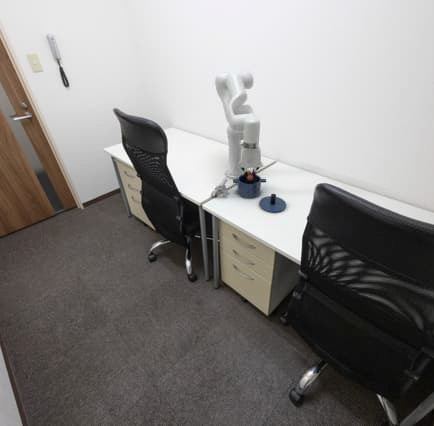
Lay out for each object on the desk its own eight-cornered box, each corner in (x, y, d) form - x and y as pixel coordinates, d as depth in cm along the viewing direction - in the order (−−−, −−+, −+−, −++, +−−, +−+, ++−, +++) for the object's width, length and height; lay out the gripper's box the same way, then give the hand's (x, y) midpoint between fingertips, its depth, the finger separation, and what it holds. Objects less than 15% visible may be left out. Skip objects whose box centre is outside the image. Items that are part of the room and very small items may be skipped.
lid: (257, 198, 127) (258, 188, 124) (282, 197, 127) (284, 187, 124) (261, 213, 117) (261, 203, 113) (288, 212, 116) (290, 202, 113)
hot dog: (246, 175, 130) (246, 169, 128) (251, 174, 130) (252, 169, 128) (247, 182, 124) (247, 176, 122) (253, 181, 124) (253, 176, 122)
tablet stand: (216, 189, 136) (216, 176, 131) (229, 191, 134) (229, 178, 129) (211, 196, 130) (210, 183, 125) (224, 199, 127) (224, 185, 122)
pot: (232, 186, 138) (232, 173, 133) (263, 186, 137) (264, 173, 132) (233, 198, 128) (233, 185, 122) (266, 198, 127) (267, 184, 122)
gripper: (234, 148, 113) (234, 181, 124) (269, 147, 113) (265, 180, 124) (234, 142, 119) (234, 175, 130) (266, 141, 119) (263, 174, 130)
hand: (249, 177), depth 127 cm, fingers closed on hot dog, 3 cm apart
